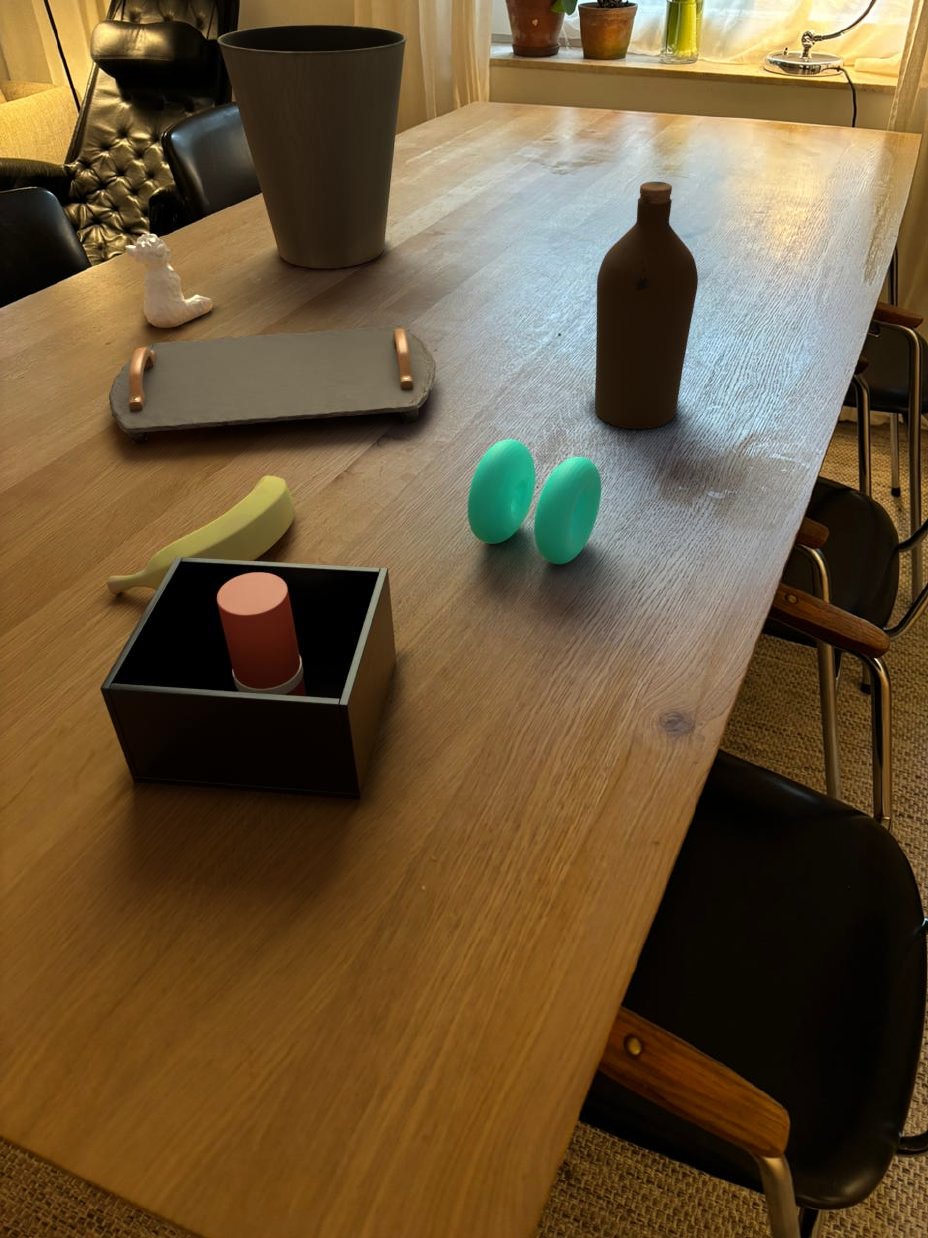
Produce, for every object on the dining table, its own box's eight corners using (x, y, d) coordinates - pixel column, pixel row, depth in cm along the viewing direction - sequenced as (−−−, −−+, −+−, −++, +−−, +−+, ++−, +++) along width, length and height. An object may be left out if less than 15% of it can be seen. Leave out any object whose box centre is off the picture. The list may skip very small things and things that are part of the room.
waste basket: (430, 231, 164) (420, 23, 145) (402, 278, 149) (388, 51, 130) (274, 226, 168) (245, 22, 149) (231, 270, 153) (193, 49, 134)
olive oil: (696, 424, 113) (728, 195, 97) (609, 439, 111) (627, 207, 95) (658, 384, 121) (682, 165, 105) (576, 396, 119) (587, 176, 103)
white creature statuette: (215, 308, 142) (199, 222, 134) (192, 333, 135) (174, 244, 128) (153, 305, 143) (133, 220, 135) (127, 330, 137) (105, 242, 129)
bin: (133, 782, 74) (99, 688, 67) (199, 646, 85) (175, 556, 79) (360, 800, 72) (347, 705, 66) (396, 659, 83) (388, 567, 77)
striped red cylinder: (234, 734, 76) (204, 613, 68) (254, 687, 80) (228, 568, 72) (300, 739, 76) (277, 618, 68) (316, 692, 80) (297, 573, 72)
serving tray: (101, 455, 110) (86, 405, 107) (129, 364, 128) (117, 318, 124) (446, 427, 114) (444, 377, 110) (427, 342, 131) (425, 296, 127)
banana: (313, 484, 91) (106, 580, 85) (333, 537, 94) (134, 634, 87) (265, 456, 102) (79, 539, 96) (284, 504, 105) (104, 587, 98)
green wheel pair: (559, 588, 90) (563, 495, 84) (463, 558, 94) (460, 467, 88) (602, 532, 97) (609, 442, 90) (511, 506, 101) (511, 418, 94)
